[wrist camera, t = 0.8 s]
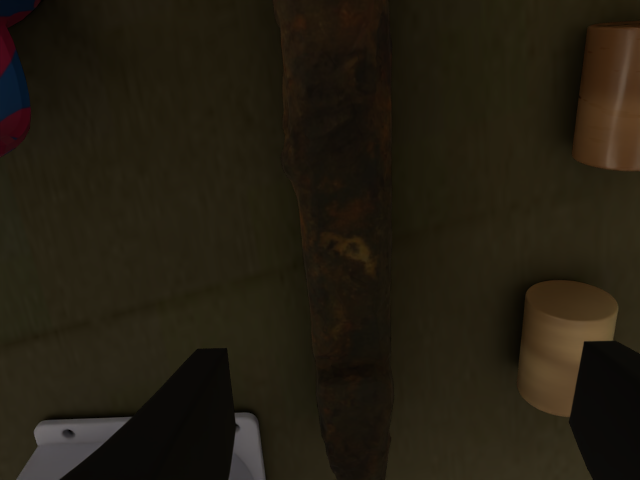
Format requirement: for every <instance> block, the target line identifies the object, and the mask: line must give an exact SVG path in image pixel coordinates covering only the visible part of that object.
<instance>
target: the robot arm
mask: <svg viewBox="0 0 640 480" xmlns="http://www.w3.org/2000/svg"><path fill="white" fill-rule="evenodd" d="M236 424H238V425H239V426H236ZM569 424H570V426H571V429H572V431H573V434H574V437H575V439H576V442H577V445H578V447H579V450H580V452H581V454H582V457H583V459H584V462H585V464H586V466H587V469H588V471H589V472H590V474H591V476H592V478H593V480H640V354H639V353H637V352H635V351H634V350H632V349H630V348H628V347H626V346H624V345H622V344H620V343H618V342H616V341H584V344H583V350H582V355H581V360H580V366H579V371H578V376H577V382H576V387H575V392H574V398H573V403H572V408H571V414H570V419H569ZM67 429H68V430H71V431H73V432H74V433H73V432H70V431H68V430H67ZM34 436H35V439H36V442H37V445H38V447H37V448H36V450H35V451H34V453H33V455H32V456H31V458H30V459H29V461H28V462H27V464H26V465H25V467H24V468H23V470H22V471H21V473H20V475H19V476H18V478H17V479H16V480H266V477H265V469H264V461H263V454H262V446H261V438H260V430H259V422H258V419H257V417H256V416H255V415H253V414H251V413H246V412H242V413H234V405H233V396H232V388H231V379H230V370H229V362H228V353H227V348H213V349H197V350H196V351H195V352H194V353H193V354H192V355H191V356H190V357H189V358H188V359H187V360H186V361H185V362H184V363H183V364H182V365H181V366H180V367H179V369H178V370H177V371H176V372H175V373H174V374H173V375H172V376H171V377H170V378H169V379H168V380H167V382H166V383H165V384H164V385H163V386H162V387H161V388H160V389H159V390H158V391H157V392H156V393H155V394H154V395H153V396H152V397H151V398H150V399H149V400H148V401H147V402H146V403H145V404H144V405H143V406H142V407H141V409H140V410H139V411H138V412H137V413H136V414H135V415H134V416H133V417H114V418H88V419H63V420H44V421H41V422H40V423H39V424H38V425H37V427H36V428H35V430H34Z"/></svg>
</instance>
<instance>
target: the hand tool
mask: <svg viewBox="0 0 640 480" xmlns="http://www.w3.org/2000/svg"><path fill="white" fill-rule="evenodd" d="M272 1H273V6H274V15H275V20H276V22H277V24H278V26H279V27H280V29H281V49H282V58H283V67H284V72H283V87H282V98H283V106H284V114H283V116H282V125H283V130H284V133H285V142H284V148H283V151H282V154H281V162H282V167H283V171H284V173H285V174H286V176H287V177H288V178H289V179H290V181H291V183H292V186H293V188H294V191H295V194H296V197H297V200H298V207H299V214H300V228H301V238H302V249H303V260H304V266H305V273H306V281H307V288H308V298H309V305H310V315H311V336H312V350H313V354H314V358H315V362H316V396H317V407H318V410H319V420H320V427H321V434H322V437H323V440H324V442H325V446H326V452H327V456H328V460H329V463H330V467H331V469H332V471H333V473H335V474H336V478H337V480H385V476H386V468H387V461H388V453H389V448H390V442H391V437H390V433H389V427H390V421H391V412H392V407H393V401H394V383H393V378H392V372H391V367H390V354H391V323H390V316H391V305H390V288H391V251H392V224H391V210H392V180H391V139H392V109H391V62H392V41H391V35H390V29H389V27H390V18H389V0H272Z"/></svg>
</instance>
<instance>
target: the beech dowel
mask: <svg viewBox="0 0 640 480" xmlns="http://www.w3.org/2000/svg"><path fill="white" fill-rule="evenodd" d="M617 314H618V304H617V302H616V300H615V299H614V298H613V297H612V296H611V295H610V294H609V293H607V292H606V291H604V290H602V289H600V288H597V287H595V286H592V285H589V284H586V283H581V282H576V281H569V280H550V281H543V282H540V283H537V284H535V285H533V286H531V287H530V288H529V289H528V290H527V292H526V296H525V305H524V315H523V325H522V335H521V345H520V355H519V365H518V375H517V388H518V391H519V393H520V394H521V396H522V397H523V398H524V399H525V400H526V401H527V402H528V403H529V404H531V405H532V406H534V407H535V408H537V409H539V410H541V411H544V412H546V413H549V414H553V415H557V416H563V417H570V414H571V408H572V403H573V398H574V392H575V387H576V382H577V376H578V371H579V366H580V360H581V355H582V350H583V344H584V341H613V337H614V331H615V325H616V320H617Z"/></svg>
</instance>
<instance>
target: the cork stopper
mask: <svg viewBox="0 0 640 480" xmlns="http://www.w3.org/2000/svg"><path fill="white" fill-rule="evenodd" d="M572 156H573V158H574V159H575V160H576V161H578V162H580V163H583V164H586V165H589V166H592V167H597V168H602V169H608V170H617V171H638V172H639V171H640V21H624V22H609V23H599V24H593V25H590V26H589V27H588V28H587V35H586V43H585V51H584V59H583V67H582V75H581V83H580V91H579V99H578V107H577V115H576V123H575V131H574V139H573V147H572Z"/></svg>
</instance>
